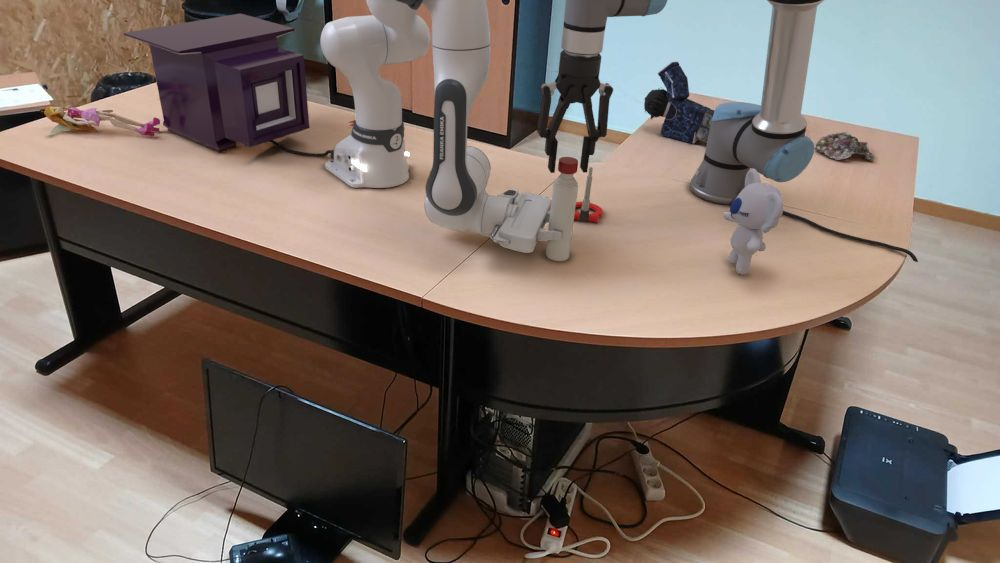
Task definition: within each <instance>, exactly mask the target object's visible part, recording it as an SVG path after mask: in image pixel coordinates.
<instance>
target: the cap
mask: <svg viewBox="0 0 1000 563" xmlns="http://www.w3.org/2000/svg"><path fill="white" fill-rule="evenodd" d="M557 163H558V164H557V171H558V172H559V173H560V174H561V173H563V174H573V175H575V174H577V172H578V167H579V160H578V159H577V158H575V157H572V156H562V157H560V158H559V159H558V162H557Z"/></svg>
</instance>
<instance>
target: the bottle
mask: <svg viewBox="0 0 1000 563" xmlns="http://www.w3.org/2000/svg"><path fill="white" fill-rule="evenodd" d="M578 190H579V183H578V181H577V179H576V178H575V176H574V174H563V173H561V172H560V174H559V175H558V177H556V179H554V181H553V183H552V192H551V200H552V201H551V210H550V219H549V222H548V228H547V230H554V229H558V230H562V231H563V234H562V238H561V240H560V241H558V240H548V241H546V248H545V256H546V257H547V258H548V259H549V260H551V261H555V262H565V261H567V260H568V259H569V258H570V255H571V254H570V253H571V247H572V246H571V245H572V237H573V229H574V223H575V219H574V214H575V211H576V208H575V206H576V202H577V200H578Z"/></svg>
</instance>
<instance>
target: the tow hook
mask: <svg viewBox="0 0 1000 563" xmlns="http://www.w3.org/2000/svg"><path fill="white" fill-rule="evenodd" d="M593 169H594V168H593V167H592V166H590V167H588V173H587V174H588V175H587V176H586V182H585V189H584V196H583V199H582V201H576V206H575V209H576V208H580V210H579V211H577V210H575V214H574V220H579V221H583V222H594V223H598V222H599V218H601V217H602V216H603V214H604V210H603V208H602V207H601V206H600V205H597V204H595V203H593V202H591V200H590V197H591V190H592V184H593V182H592V181H593ZM590 209H591V210H593V211H595V212H591V213H590V211H591V210H590Z"/></svg>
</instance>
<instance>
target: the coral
mask: <svg viewBox="0 0 1000 563" xmlns="http://www.w3.org/2000/svg"><path fill="white" fill-rule="evenodd" d="M815 150H816V151H817V152H818V153H824V155H825V156H827V157H828V158H830V159H832V160H835V161H839V160H840V161H841V160H844V159H848V158H851V157H852V155H853V154H854V155H857V154H859V155H860V156H861V158H863V159H865V160H866V161H871V162H874V160H875V159H874V158H875V155H874V154H873V153H872V152H871V151H870V149H869V147H868V142H867V141H859V139H858V137H855V136H853V135H852V134H851V133H849V132H848V131H846V132H844V131H843V132H836V133H830V134H827V135H826V136H822V137H820V138H819V140H818V141H817V142H816V144H815ZM873 157H874V158H873Z"/></svg>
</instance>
